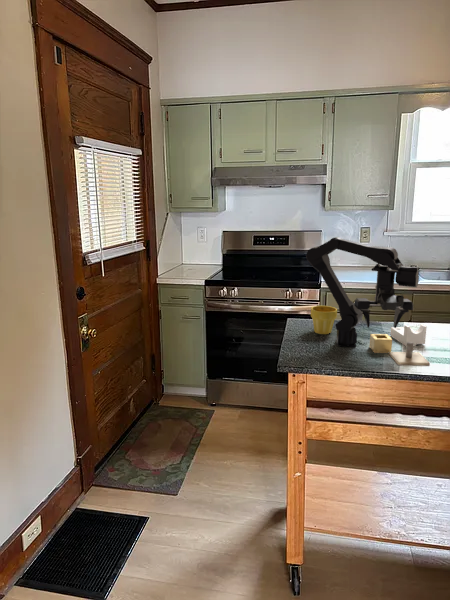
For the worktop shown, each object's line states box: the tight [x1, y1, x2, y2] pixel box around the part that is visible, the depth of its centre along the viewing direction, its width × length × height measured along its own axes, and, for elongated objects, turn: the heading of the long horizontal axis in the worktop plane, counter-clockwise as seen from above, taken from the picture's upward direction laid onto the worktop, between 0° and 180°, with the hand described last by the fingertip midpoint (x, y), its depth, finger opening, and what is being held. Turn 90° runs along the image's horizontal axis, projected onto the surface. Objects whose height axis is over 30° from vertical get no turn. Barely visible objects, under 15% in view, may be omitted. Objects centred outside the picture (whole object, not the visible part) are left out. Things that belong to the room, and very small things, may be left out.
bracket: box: [389, 324, 428, 347], centre depth 170 cm, size 13×7×8 cm, turn 5°
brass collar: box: [368, 333, 393, 354], centre depth 160 cm, size 6×6×5 cm
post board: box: [388, 342, 431, 366], centre depth 151 cm, size 10×10×6 cm
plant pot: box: [310, 305, 338, 335], centre depth 181 cm, size 10×10×10 cm
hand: (381, 327), depth 159 cm, fingers open, 9 cm apart
